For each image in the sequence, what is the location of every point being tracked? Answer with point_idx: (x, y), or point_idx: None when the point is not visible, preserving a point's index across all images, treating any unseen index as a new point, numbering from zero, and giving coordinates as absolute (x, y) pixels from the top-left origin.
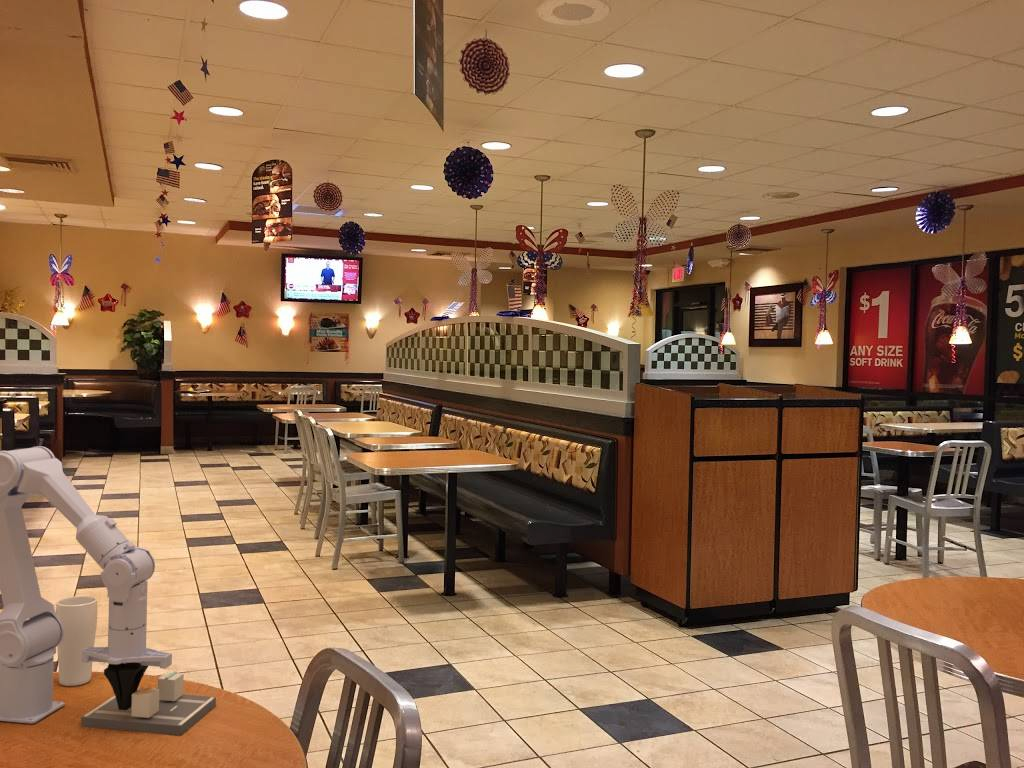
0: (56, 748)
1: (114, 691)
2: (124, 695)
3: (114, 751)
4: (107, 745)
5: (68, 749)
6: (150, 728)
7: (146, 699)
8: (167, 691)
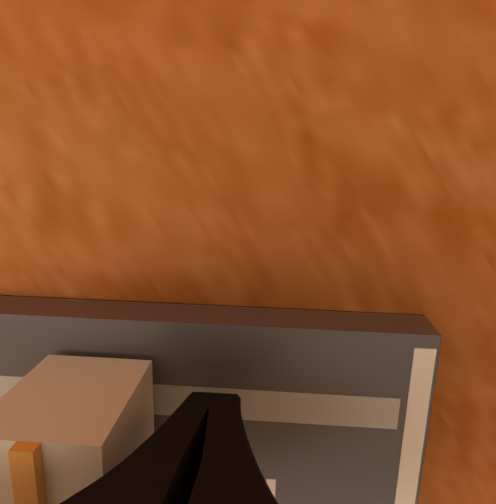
0: (414, 43)
1: (246, 460)
2: (166, 439)
3: (90, 67)
4: (167, 129)
5: (341, 44)
6: (38, 304)
7: (1, 419)
8: None
